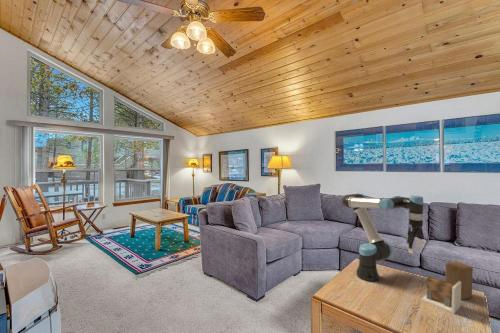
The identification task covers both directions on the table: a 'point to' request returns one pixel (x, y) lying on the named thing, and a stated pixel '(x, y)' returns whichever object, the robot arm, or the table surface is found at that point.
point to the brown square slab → (439, 289)
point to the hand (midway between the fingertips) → (415, 250)
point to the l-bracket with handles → (446, 299)
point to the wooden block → (460, 277)
